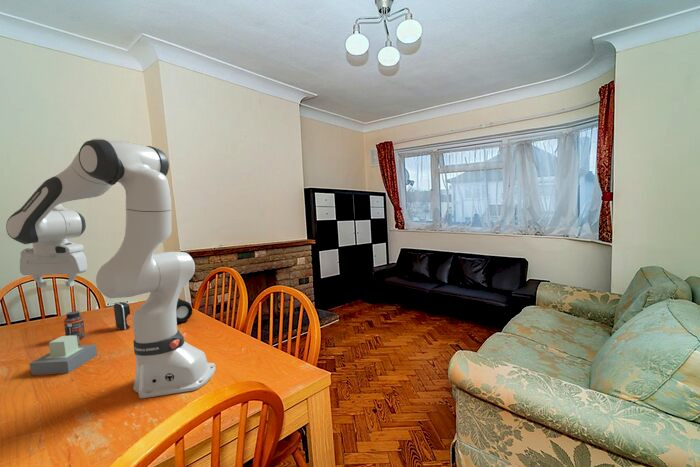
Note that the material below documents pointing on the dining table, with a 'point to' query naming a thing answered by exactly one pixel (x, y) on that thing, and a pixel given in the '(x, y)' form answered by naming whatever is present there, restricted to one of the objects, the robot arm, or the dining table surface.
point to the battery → (121, 315)
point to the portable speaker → (183, 311)
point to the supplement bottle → (74, 325)
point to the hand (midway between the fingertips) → (56, 286)
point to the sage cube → (63, 346)
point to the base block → (63, 361)
